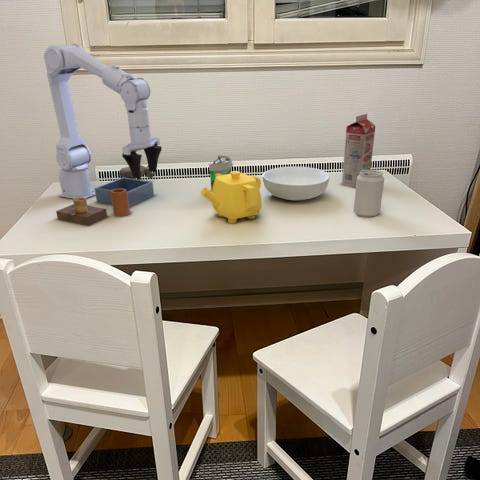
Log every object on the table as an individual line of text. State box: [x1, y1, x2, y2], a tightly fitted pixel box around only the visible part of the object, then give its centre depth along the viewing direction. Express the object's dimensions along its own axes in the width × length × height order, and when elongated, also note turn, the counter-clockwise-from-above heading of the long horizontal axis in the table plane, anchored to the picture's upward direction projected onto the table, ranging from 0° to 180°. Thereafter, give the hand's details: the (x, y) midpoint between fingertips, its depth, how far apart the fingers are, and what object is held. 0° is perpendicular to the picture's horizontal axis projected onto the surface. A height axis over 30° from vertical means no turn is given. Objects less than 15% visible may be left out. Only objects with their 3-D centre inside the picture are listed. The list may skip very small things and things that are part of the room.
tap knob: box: [72, 197, 88, 213], centre depth 145 cm, size 4×4×4 cm
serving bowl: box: [262, 165, 331, 202], centre depth 159 cm, size 21×21×7 cm
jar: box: [110, 188, 131, 217], centre depth 149 cm, size 5×5×7 cm
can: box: [353, 169, 385, 218], centre depth 143 cm, size 8×8×12 cm
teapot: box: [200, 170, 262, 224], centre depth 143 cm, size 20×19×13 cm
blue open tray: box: [94, 177, 155, 208], centre depth 161 cm, size 12×13×5 cm
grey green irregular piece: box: [208, 154, 234, 192], centre depth 166 cm, size 12×6×10 cm, turn 168°
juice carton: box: [341, 113, 376, 188], centre depth 166 cm, size 7×7×22 cm
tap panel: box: [55, 203, 108, 226], centre depth 147 cm, size 12×9×3 cm
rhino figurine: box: [119, 164, 157, 180], centre depth 177 cm, size 4×14×6 cm, turn 119°
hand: (145, 174), depth 150 cm, fingers open, 7 cm apart
